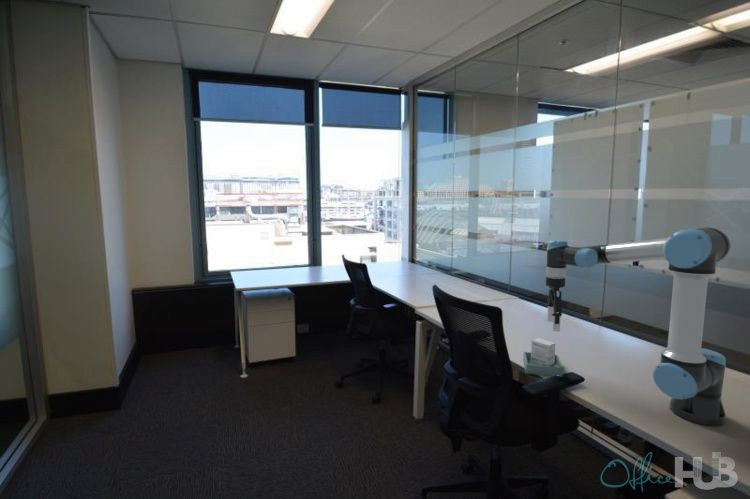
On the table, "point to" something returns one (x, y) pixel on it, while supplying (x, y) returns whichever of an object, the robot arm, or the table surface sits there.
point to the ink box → (542, 352)
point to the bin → (542, 367)
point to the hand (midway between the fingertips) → (553, 326)
